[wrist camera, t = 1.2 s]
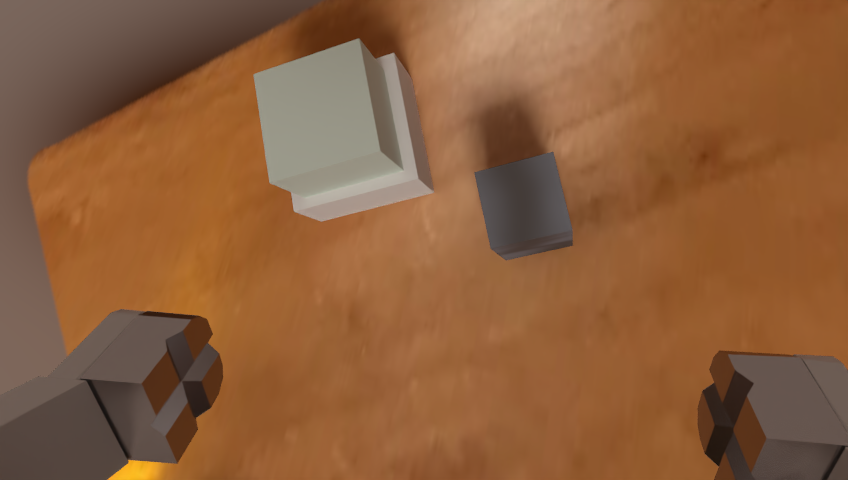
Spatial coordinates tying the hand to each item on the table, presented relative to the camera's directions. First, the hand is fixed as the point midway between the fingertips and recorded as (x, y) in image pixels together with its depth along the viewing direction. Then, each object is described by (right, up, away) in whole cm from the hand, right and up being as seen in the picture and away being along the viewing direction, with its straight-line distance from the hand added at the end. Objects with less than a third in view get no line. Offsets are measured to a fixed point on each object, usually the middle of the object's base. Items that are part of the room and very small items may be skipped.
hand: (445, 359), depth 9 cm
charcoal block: (+8, +3, +32) cm, 33 cm away
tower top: (-6, +10, +32) cm, 34 cm away
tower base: (-5, +9, +37) cm, 39 cm away
